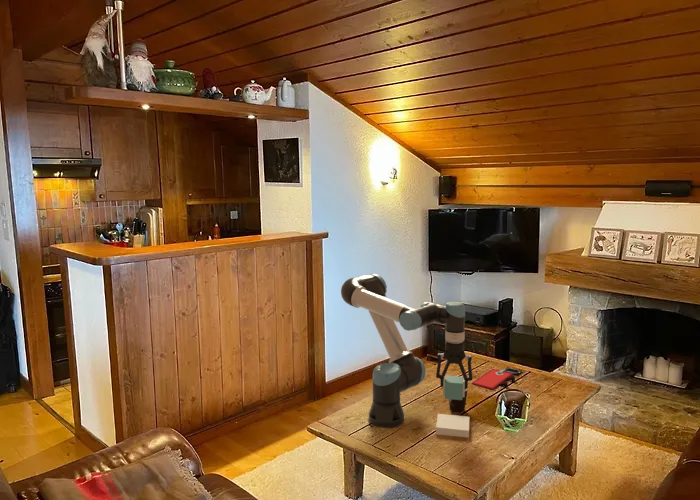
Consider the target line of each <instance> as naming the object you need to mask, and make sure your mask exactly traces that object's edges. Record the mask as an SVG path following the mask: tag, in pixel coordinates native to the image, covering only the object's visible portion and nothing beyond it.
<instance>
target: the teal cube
mask: <svg viewBox="0 0 700 500" xmlns="http://www.w3.org/2000/svg"><path fill="white" fill-rule="evenodd" d="M444 378H445V396H444V400H449V399H454V400H462V398H463V379H464V377H463V376H461V375H460V376H459V375H458V376H457V375H447V374H445V377H444Z"/></svg>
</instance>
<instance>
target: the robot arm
mask: <svg viewBox="0 0 700 500" xmlns="http://www.w3.org/2000/svg"><path fill="white" fill-rule="evenodd" d="M387 286H388V285H387V283H386V281H385V279H384V278H383V277H382V276H381V275H379V274H377V273H368V274H364V275H360V276H355V277H351V278H348V279H346V280H345V281H344V283H343V284H342V285H341V287H340V288H341V290H340V294H341V298H342V299H343V301H344V302H345V303H346V304H347V305H349V306H351V307H354V308H357V309H359V308H363V309H365V310H367V311H368V313H369V314H370V317H371V319H372V322H373V324H374V326H375V328H376V330H377V332H378V334H379V337H380V339H381V342H382V344H383V346H384V348H385V351H386V352H387V354H388V357H389V360H388V362H382V363H380V364H378V365H376V366H375V367H374V369H373V371H372V380H371V381H372V403H371V406H370V408H369V412H368V420H369V422H370V423H371V425H374V426H376V427H380V428H394V427H398V426H401V425H402V424H403V423H404V422H405V412H404V409H403V406H402V404H401V393H402V392H404V391H407V390H409V389H411V388H414V387H416V386H418V385H419V384H421V383H422V382H423V381H424V380H425V377H426V374H427V373H426V372H427V371H426V366H425V363H424V362H423V360H422V359H420V358H419V357H417V356H415V355H414V352H412V351H410V350H408V348H407V346H406V344H405V342H404V339H403V337H402V335H401V333H400V331H399V329H398V326H397V324H396V322H397V323H399V325H400V327H402V329H403V330H404V331H415V330H417V329H419V328H422V327H425V326H426V327H427V326H429V325H431V324H432V325H433V324H434V323H438V324H441V325H445V333H444V335H445V341H444V347H445V348H444V352H443V353H440V352H438V353H437V355H436V356H437V367H436V375H435V378H437V379H440V387H441V388H442V396H444V397H445V378H446V375H447V372H448V370H449V367H450V366H451V365H453V364H454V365H458V366H459V369H460V372H461V374H462V375H461V376H462V377H463V397H464V396H465V389H467V388H469V387H468V386H469V385H468V383H469V381H473V370H472V360H473V356H472V354H466V352H465V335H466V333H465V332H466V331H465V324H466V323H465V322H466V319H465V318H466V307H465V304H464V303H463V302H460V301H449V302H446V304H445V305H444V304H441V303H436V302H433V301H425V302H423V303H422V304H421V305H420V307H417V308H414V307H412V306H408V305H406V304H403V303H400V302H398V301H397V300H392V299H390V298H387V295H386V294H387ZM444 357H445V360H446V363H445V365H444V368H443V370H442V372H441V367H442V360H443V359H444ZM464 359H465V360H466V361H467V370H468V375H467V371H466V369H465V367H464V364H463V360H464Z"/></svg>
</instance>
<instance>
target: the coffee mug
mask: <svg viewBox="0 0 700 500" xmlns="http://www.w3.org/2000/svg"><path fill="white" fill-rule="evenodd" d="M468 388H469V387H468ZM468 388H467V389H465V396H464V397H463V398H462V400H454V399H448V404H449V410H450V411H451V412H453V413H459V414H461V413H464V412H465V410H466V409H465V408H466V402H467V395H468Z"/></svg>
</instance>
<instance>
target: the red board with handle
mask: <svg viewBox="0 0 700 500" xmlns="http://www.w3.org/2000/svg"><path fill="white" fill-rule="evenodd" d="M522 372H523V370H521V369H516V368H513V367H508V366H507V367H506V368H504V369H495V368H491V369H490V370H488V371H486V372H485V373H484V374H482V375H481V376H480V377H478V378H477V379H475V380H474V381H472V382H471V385H474V386H477V387H480V388H484V389H487V390H491V391H494V390H495V389H496V388H498V387H503V388H504V389H507V388H508V384H509V383H508V381H511V383H515V381H516V376H514V375H519V374H520V373H522Z"/></svg>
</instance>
